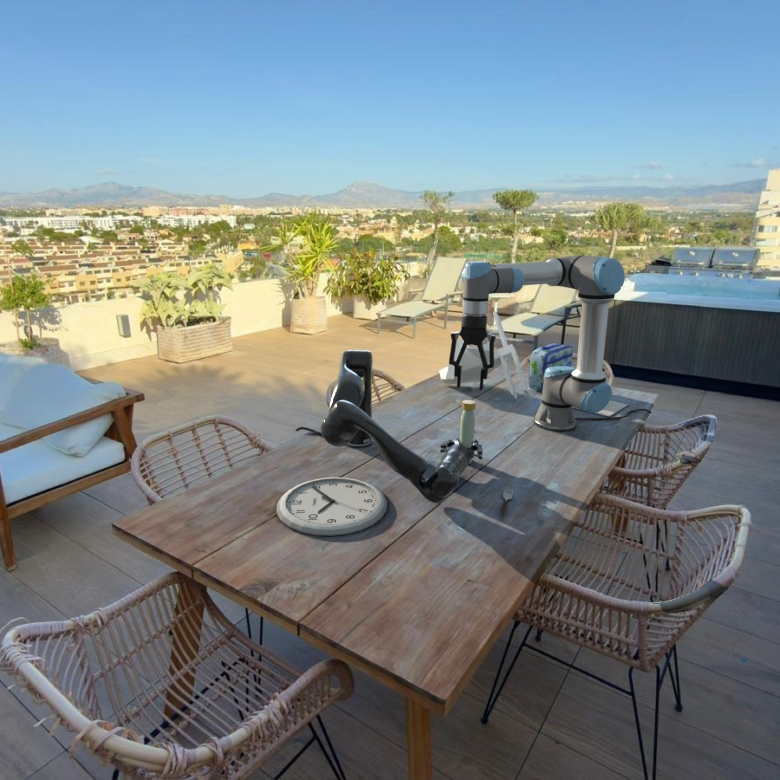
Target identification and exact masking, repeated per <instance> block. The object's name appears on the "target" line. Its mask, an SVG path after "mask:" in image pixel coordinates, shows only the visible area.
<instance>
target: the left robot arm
mask: <svg viewBox="0 0 780 780" xmlns="http://www.w3.org/2000/svg"><path fill="white" fill-rule="evenodd" d="M373 367H374V357H373V353H372V352H371V351H370V350H364V349H363V350H362V349H361V350H360V349H353V350H352V349H348V350H344V351H343V352H342V354H341V357H340V361H339V367H338V373H337V377H336V379H335V382H334V385H333V389H332V393H331V397H330V402H329V406H328V410H327V413H326V414H325V417H324V418H323V420H322V422H321V424H320V431H318V430H315V429H314V428H313V429H312V428H310V427H306V426H299V427H297V428H296V429H295V432H299V431H301V430H304V431H307V432H311V433H314V434H316V435H318V436H322V437H323V439H324V440H325V441H326V443H328V444H329V445H330V446H333V447H337V448H342V447H345V446H348V447H351V448H365V447H368V446H370V445H372V443H373V442H374V444H375V445H376V448H377V449H378V452H379V453H380V456H381V457H382V460H383V461H384V463H385V464H386V465H387V466H388V467H389V468H390V469H391V470H393V471H394V472H396V473H397V474H398V475H400V476H402V477H403V478H405V479H406V480H407V481H409V482H410V483H411V485H413V486H414V487H415V489H416V490H418V492H419V493H420V494H421V495H422V496H423V498H424V499H426V501H428V502H429V503H433V504H440V503H442V502H443V501H444V500H445V499H446V498H447V497H448V496H449V495H450V494H451V493H452V492H453V491H454V490H455V489H456V488H457V486H458V484H459V483H460V477H461V476H462V474H463V473H464V471H465V470H466V468H467V467H468V465H469V464H468V463H469V462H470V459H471V458H472V459H473V458H474V457H475V458H478V459H479V460H482V459H483V456H484V455H483V453H484V451H483V446H482V444H480V443H479V440H478V439H477V438H473V443H472V444H468V445H466V446H463V445H460V444H459V441H460V436H458V437H456V439H454V440H452V439H447V440H446V441H445V442H443V443H441V444H440V448H439V449H440V450H439V452H440V453H442V454H443V453H444V454H443V455H442V457H441V459H440V461H439V462H438V464H437V466H436V468H435V470H434V471H433V472H432V473H431V474H430V476H428V477H426V476H425V475H424V474H425V473H426V471H427V469H428V468H427V467H428V462H427V460H426V459H424V458H423V457H422V456H421V455H419V454H417V453H415V451H412V450H411V449H409V448H408V447H406V446H405V445H404V444H402V443H401V442H399V441H398V440H397V439H396V438H394V436H392V435H391V434H390V433H389V432H388V431H387V430H386V429H385V428H384V427H382V426H381V425H380V424H379V423H378V422H377V421H375V419H373V417H372V416H373V415H372V414H373V413H372V411H373V410H372V409H373V408H372V407H373V404H372V403H373V391H372V390H373V387H372V385H373Z"/></svg>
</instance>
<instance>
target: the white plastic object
mask: <svg viewBox="0 0 780 780" xmlns="http://www.w3.org/2000/svg"><path fill="white" fill-rule="evenodd" d="M492 315H493V319H494V321H495V324H496V325H495V326H496V328H497V332H498V335H499V338H500V342H501V345H502V347H500V348H498V349H496V350H495V349H494V367H493V368H489V369H488V374H487V375H489V374H490V373H492V372H494V371H495V370H496V369H497V368H499V367H500V366H502V370H503V373H504V376H505V380H506V383H507V386H508V390H509V393H510V394H511V395H512V397H513V398H514V399H515V400H517V392H516V391H517V390H516V388H515V385H514V381H513V378H512V375H511V371H510V369H509V365H508V361H510V360H513V363H514V366H515V369H516V372H517V376H518V380H519V382H520V385H521V389H522V391H523V393H524V395H525V396H526V397H528V396H531V395H530V390H529V386H528V384H527V381H526V378H525V375H524V371H523V369H522V368H523V367H522V366H521V362H520V359H519V355H518V352H517V349H516V347H515V346H514V345H513V343H511V344H508V341H507V337H506V334H505V331H504V328H503V325H502V321H501V318H500V315H499V314H498V312H497V311H496V310H495V311H492ZM463 343H464V341H463V339H462V338H460V339H459V338H458V339H457V343H456V350H455V357H454V361H456V360H457V357H458V355H459V353H460V350H461V348H462V345H463ZM483 348H484V352H485V355H486V359H487V363H488V364H489V363H490V359H489V343H488V342H487V343H483ZM459 366H462V368H461V384H467V383H468V384H469V383H473V384H477V383H480V376H481V368H483V364H482V361H481V357H480V353H479V349H478V347H477V346H475V345H473V346H470V345H467V347H466V349H465V352H464V354H463V357H462V359H461V361H460V364H459ZM438 372H439V376H440V381H442V383H443V384H444V385H445V386H449V385H457V377H455V376H454V366H453V365H450V364H449V363H448V366H446V367H444V368H442V369H440V370H439V371H438Z"/></svg>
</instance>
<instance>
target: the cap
mask: <svg viewBox="0 0 780 780" xmlns="http://www.w3.org/2000/svg"><path fill="white" fill-rule="evenodd" d="M461 403H462V404H461V408H462V409H463V411H464V410H473V411H474V410H475V409H476V401H475V400H472V399H465V400H464V399H463V400H462V402H461Z"/></svg>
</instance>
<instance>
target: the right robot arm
mask: <svg viewBox="0 0 780 780" xmlns="http://www.w3.org/2000/svg"><path fill="white" fill-rule="evenodd" d="M625 278H626V275H625V270H624V266H623V264H621V261H619V260H618V259H616V258H614V257H608V256H598V255H597V256H596V255H583V254H582V255H581V254H580V255H579V254H578V255H569V256H561V257H552V258H549V259H547V260H546V261H534V262H533V261H532V262H531V261H529V262H512V263H511V262H510V263H509V262H508V263H495V264H494V263H493V264H491V263H490V261H479V260H478V261H477V260H476V261H475V260H473V261H467V262H466V263H465V266H464V268H463V270H462V272H461V281H462V283H463V292H462V293H463V294H462V309H461V310H462V311H461V313H463V314H462V315H461V325H460V330H459V331H456V332H455V331H453V332H451V334H450V339H451V344H450V351H449V352H450V353H449V357H448V358H449V359H448V365H449V364H450V365H453V366H454V376H455V377H457V384H456V389H460V388H461V384H462V383H461V368H462V366H459V364H460V361H461V359H462V357H463V354H464V352H465V349H466V347H467V345H468V346H477V347H478V349H479V353H480V357H481V361H482V364H483V368H481V376H480V382H479V391H483V388H484V380H487V379H488V375H489V374H488V369H489V368H493V367H494V350H495V342H496V339H497V338H496V337H497V335H495V334H491V333H489V332H488V330H487V324H488V315H487V314H488V312H489V300H490V299H489V298H490V295H491V294H514V293H518V292H520V291H521V290H522V289H523V287H524V286H535V285H547V286H549V287H561V288H567V289H573V290H577V298H578V299H579V300H580V302H581V312H580V323H579V335H578V345H577V346H578V347H577V359H576V367H574V366H571V367H568V366H555V367H549V368H547V369H546V370H545V375H544V378H543V390H542V391H541V402H540V405H539V407H538V410H537V411H536V413H535V417H534V424H535V425H536V426H537V427H539V428H542V429H544V430H549V431H556V432H567V431H572V430H574V429H575V428H576V421H604V420H605V421H606V420H608V421H609V420H620V419H625V418H628V416H629V415H630V414H631V413H635V412H647V413H649V414H652V411H651V410H649V409H647V408H637V409H633V410H629V411H627V412H626V414H625V415H622V416H609V417H576V416H575V413H574V407H576V408H578V409H577V410H580V409H581V411H582V412H587V413H590V414H596V413H597V412H599V411H601V410H603V409H604V408H605V406H606V405H607V404H608V403H609V401H611V399H612V396H613V388H612V387H611V385H610V384H609V383H607V374H606V373H605V372H604V371H603V366H604V357H605V356H604V355H605V346H606V338H607V337H606V336H607V326H608V315H609V309H610V308H609V307H610V303H611V302H612V301H613V300H614V299H615V297H616V294H618V293H619V292H620V291H621V290H622V287H624V283H625ZM459 337H460V339H463V341H464V343H463V345H462V348H461V350H460V353H459V355H458V357H457V360H456V361H454V357H455V350H456V343H457V339H459ZM486 338H487V342H489V343H488V344H489V359H490V363H489V364H488V363H487V359H486V355H485V352H484V348H483V344H484V343H483V341H485V339H486ZM576 408H575V409H576Z"/></svg>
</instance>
